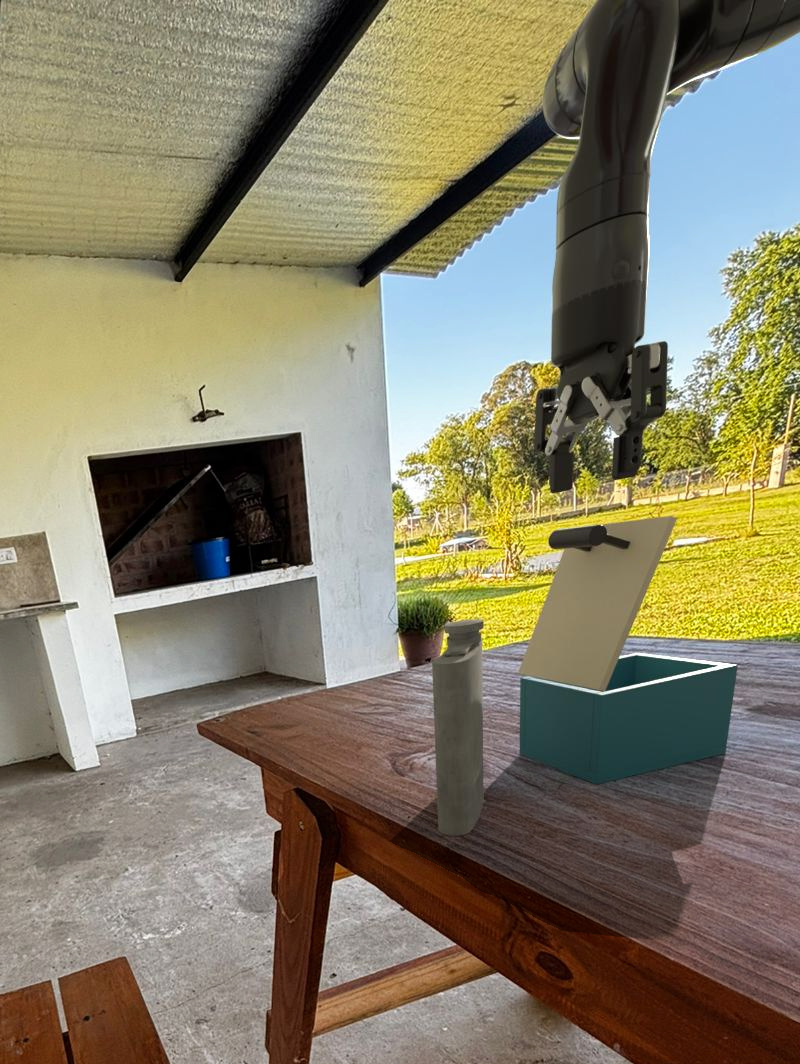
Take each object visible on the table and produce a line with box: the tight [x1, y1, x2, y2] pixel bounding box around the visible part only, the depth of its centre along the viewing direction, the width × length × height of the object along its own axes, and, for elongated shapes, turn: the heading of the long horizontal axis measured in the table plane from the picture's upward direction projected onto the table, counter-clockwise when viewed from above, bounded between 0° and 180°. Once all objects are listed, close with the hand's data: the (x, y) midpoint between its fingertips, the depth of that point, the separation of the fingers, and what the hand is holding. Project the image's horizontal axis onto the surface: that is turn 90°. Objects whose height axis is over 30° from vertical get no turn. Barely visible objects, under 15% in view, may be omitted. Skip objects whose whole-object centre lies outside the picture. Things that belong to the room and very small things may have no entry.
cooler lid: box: [517, 515, 678, 691], centre depth 66 cm, size 17×13×6 cm
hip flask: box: [431, 618, 485, 837], centre depth 64 cm, size 16×4×20 cm, turn 154°
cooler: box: [519, 652, 739, 785], centre depth 72 cm, size 16×13×10 cm
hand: (590, 485), depth 63 cm, fingers open, 8 cm apart
